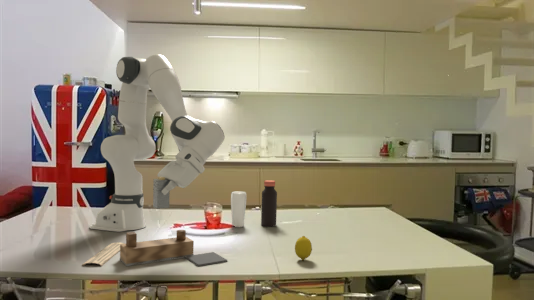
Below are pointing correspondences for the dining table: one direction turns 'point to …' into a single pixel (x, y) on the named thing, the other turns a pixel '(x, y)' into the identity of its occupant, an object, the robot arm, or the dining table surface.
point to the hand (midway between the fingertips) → (159, 192)
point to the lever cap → (158, 197)
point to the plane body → (155, 249)
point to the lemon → (303, 247)
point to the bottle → (269, 204)
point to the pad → (206, 259)
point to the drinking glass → (238, 208)
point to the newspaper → (105, 254)
